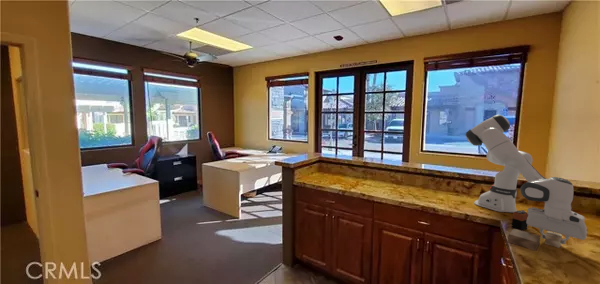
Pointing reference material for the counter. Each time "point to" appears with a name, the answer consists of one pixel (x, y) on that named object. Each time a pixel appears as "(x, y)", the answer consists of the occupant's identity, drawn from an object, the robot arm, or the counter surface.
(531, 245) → the walnut block
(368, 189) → the counter surface
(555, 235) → the maple cube
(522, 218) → the battery
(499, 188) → the robot arm
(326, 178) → the counter surface
